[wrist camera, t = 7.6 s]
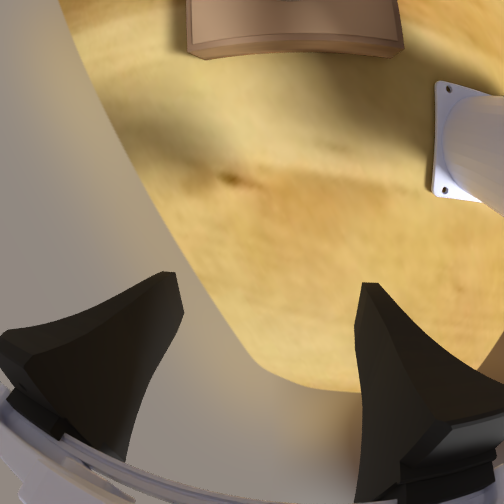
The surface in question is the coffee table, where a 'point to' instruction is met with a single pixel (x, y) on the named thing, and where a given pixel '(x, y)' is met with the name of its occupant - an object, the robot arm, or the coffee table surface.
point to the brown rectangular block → (293, 27)
